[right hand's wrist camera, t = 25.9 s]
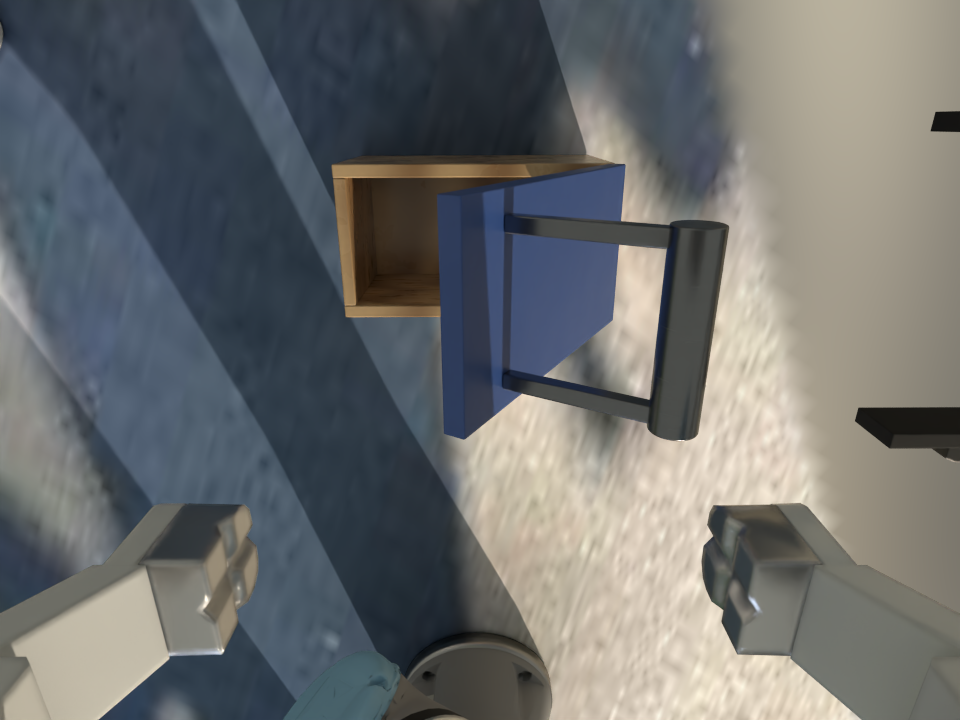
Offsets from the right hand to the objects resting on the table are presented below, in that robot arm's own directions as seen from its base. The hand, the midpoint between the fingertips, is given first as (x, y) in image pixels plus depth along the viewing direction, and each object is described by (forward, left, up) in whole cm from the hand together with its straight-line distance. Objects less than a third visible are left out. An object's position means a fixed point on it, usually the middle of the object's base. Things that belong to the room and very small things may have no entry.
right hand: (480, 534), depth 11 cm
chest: (0, 0, -36) cm, 36 cm away
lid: (+1, +3, -19) cm, 20 cm away
